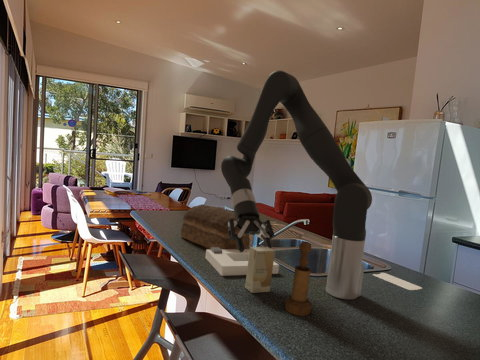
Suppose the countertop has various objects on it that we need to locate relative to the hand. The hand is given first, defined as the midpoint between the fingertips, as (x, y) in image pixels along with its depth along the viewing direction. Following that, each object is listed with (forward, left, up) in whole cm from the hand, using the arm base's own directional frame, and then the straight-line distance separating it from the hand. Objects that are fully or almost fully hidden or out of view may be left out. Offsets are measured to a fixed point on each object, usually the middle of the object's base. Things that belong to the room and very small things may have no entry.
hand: (255, 251), depth 108 cm
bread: (-2, -43, -11) cm, 44 cm away
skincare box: (0, +4, -10) cm, 11 cm away
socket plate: (-3, -17, -10) cm, 20 cm away
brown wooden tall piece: (-5, +18, -10) cm, 22 cm away
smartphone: (-54, +3, -11) cm, 55 cm away
